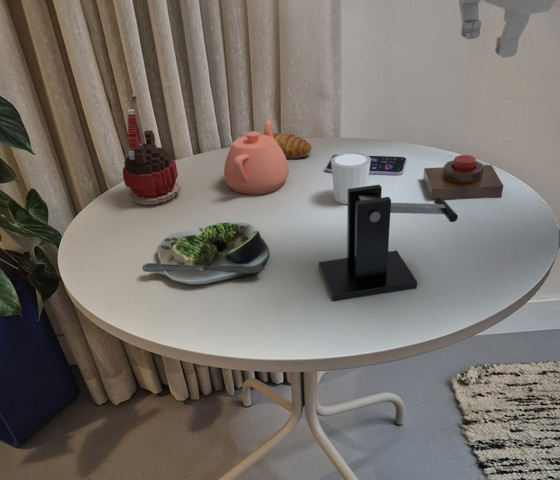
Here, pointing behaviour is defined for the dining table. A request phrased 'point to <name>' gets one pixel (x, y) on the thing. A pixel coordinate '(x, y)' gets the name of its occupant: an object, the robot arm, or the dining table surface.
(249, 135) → the teapot
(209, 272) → the salad plate
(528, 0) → the robot arm
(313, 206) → the dining table surface
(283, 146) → the pastry
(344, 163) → the white cup
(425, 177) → the console
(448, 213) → the lever
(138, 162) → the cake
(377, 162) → the smartphone
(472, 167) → the button
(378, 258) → the bracket
